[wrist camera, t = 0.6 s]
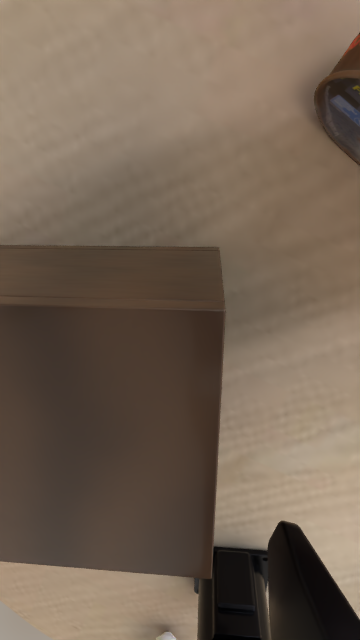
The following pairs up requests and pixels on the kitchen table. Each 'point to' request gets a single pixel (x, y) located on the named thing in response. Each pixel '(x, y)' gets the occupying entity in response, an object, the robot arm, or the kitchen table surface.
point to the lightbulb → (166, 636)
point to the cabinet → (110, 406)
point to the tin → (342, 102)
